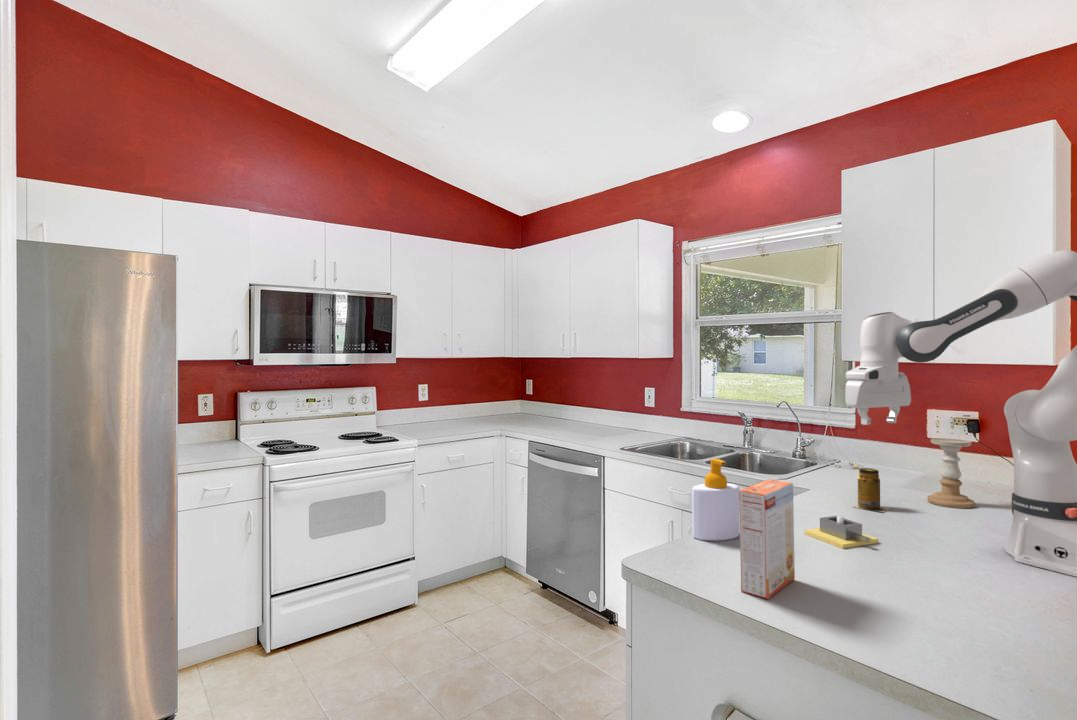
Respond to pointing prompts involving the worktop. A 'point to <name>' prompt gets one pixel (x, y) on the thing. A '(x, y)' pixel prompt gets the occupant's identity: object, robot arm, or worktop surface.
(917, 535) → the worktop surface
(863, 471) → the condiment
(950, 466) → the candle holder
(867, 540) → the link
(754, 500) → the cracker box
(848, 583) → the worktop surface
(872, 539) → the keeper
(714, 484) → the soap bottle
